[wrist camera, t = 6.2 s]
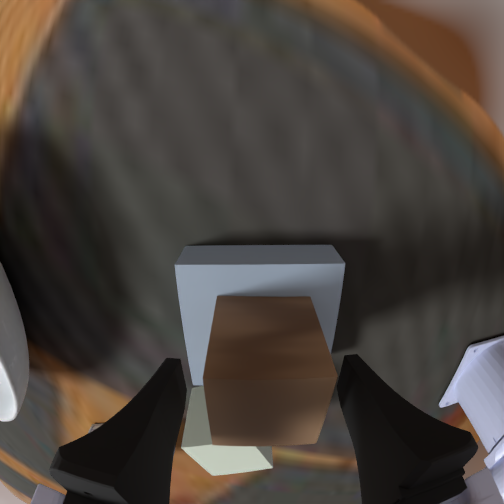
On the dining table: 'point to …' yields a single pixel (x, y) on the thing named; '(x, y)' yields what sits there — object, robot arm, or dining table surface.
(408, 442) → the robot arm
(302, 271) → the base block
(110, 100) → the dining table surface
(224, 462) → the sage block
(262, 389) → the walnut block
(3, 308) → the serving bowl
